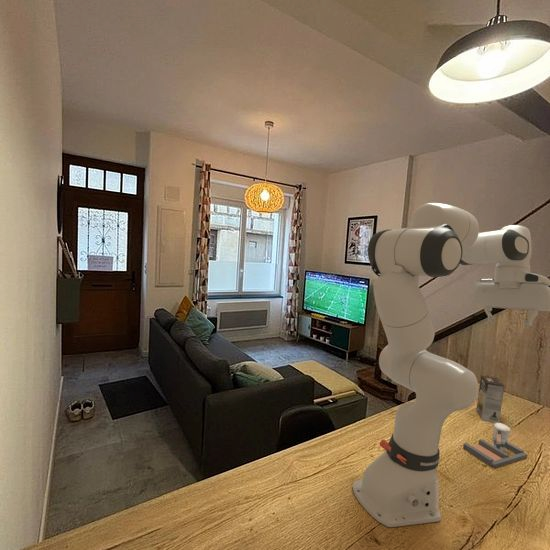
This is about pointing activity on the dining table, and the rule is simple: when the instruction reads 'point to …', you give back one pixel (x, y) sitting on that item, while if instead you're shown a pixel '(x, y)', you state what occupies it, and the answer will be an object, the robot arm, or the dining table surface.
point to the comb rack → (494, 453)
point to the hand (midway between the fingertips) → (508, 323)
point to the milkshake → (501, 435)
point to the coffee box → (490, 398)
